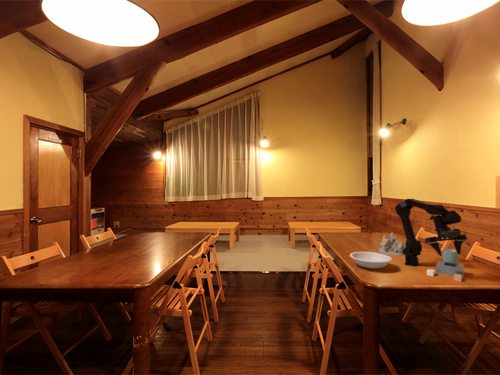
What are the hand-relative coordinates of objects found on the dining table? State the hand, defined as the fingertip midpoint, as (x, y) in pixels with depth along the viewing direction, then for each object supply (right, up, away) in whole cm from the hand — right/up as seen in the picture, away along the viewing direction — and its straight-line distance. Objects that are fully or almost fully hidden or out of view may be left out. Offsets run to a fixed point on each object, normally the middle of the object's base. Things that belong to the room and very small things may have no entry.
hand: (450, 255), depth 137 cm
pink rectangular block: (+3, -13, -1) cm, 13 cm away
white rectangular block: (-5, -13, +7) cm, 16 cm away
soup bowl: (-33, -13, +22) cm, 41 cm away
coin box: (+7, -13, +9) cm, 17 cm away
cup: (+17, -13, +21) cm, 30 cm away
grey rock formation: (-1, -13, +55) cm, 56 cm away
